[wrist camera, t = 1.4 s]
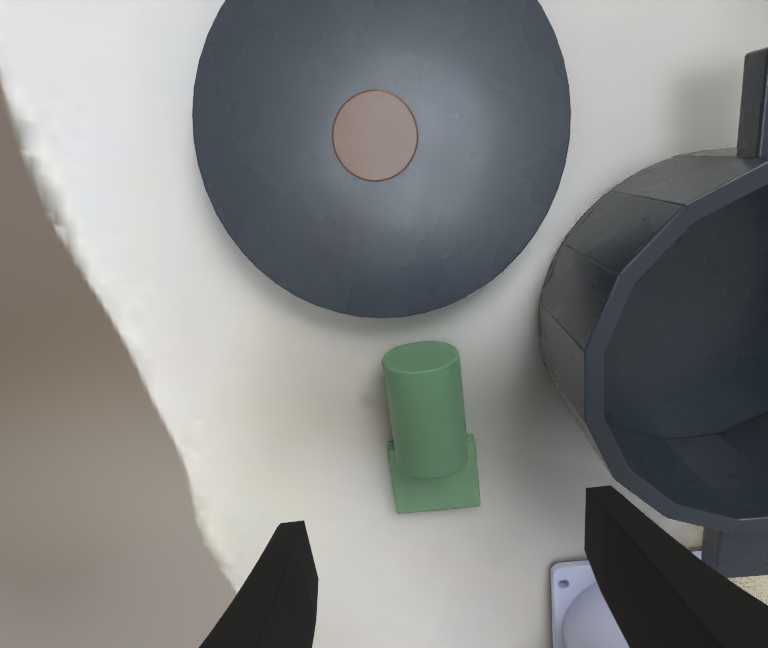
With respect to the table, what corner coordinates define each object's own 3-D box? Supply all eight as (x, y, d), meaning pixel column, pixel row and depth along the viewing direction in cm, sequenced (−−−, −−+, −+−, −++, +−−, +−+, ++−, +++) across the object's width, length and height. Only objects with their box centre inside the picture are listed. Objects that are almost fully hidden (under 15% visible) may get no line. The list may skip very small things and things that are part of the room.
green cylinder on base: (373, 346, 21) (369, 377, 18) (464, 336, 21) (474, 365, 18) (397, 504, 24) (396, 552, 21) (478, 496, 23) (489, 544, 20)
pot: (896, 40, 17) (1117, -9, 12) (820, 480, 23) (947, 579, 17) (529, 94, 18) (583, 71, 13) (544, 505, 23) (586, 606, 18)
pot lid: (557, -107, 16) (618, -208, 11) (564, 289, 20) (611, 329, 16) (161, -39, 17) (75, -106, 12) (247, 327, 21) (205, 375, 16)
